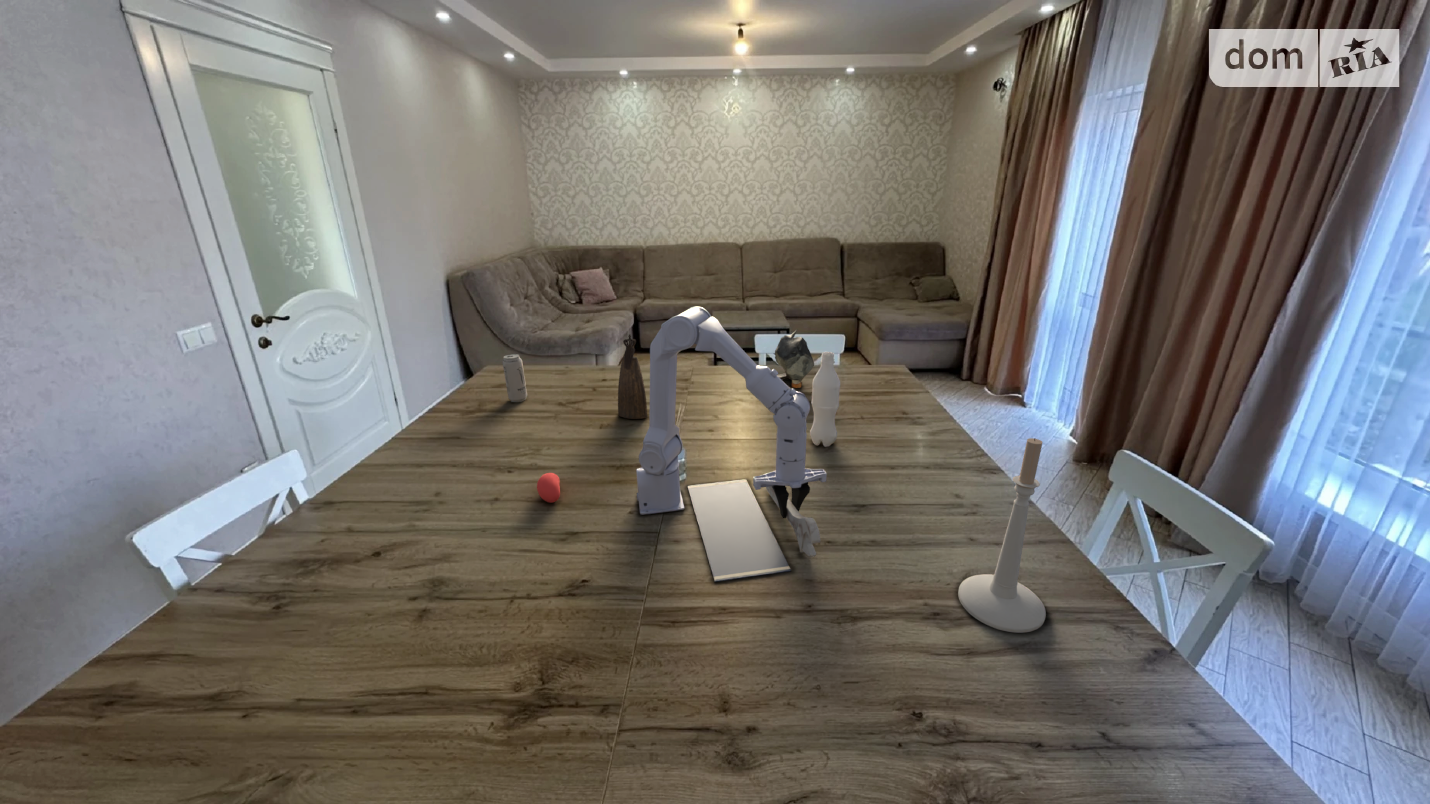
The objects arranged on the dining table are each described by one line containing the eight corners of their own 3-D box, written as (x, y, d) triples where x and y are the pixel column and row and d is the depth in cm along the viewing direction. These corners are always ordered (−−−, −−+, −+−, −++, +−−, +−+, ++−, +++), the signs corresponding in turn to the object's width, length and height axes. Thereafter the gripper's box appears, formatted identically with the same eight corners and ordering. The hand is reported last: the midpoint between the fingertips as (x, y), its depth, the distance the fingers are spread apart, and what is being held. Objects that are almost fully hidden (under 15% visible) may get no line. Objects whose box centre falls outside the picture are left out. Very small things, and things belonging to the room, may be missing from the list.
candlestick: (1042, 644, 82) (1088, 466, 71) (951, 613, 89) (980, 445, 78) (1047, 594, 92) (1087, 431, 81) (965, 568, 99) (992, 414, 88)
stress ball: (531, 509, 122) (536, 492, 118) (537, 478, 129) (542, 461, 125) (554, 513, 124) (560, 496, 120) (560, 482, 130) (565, 465, 127)
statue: (645, 410, 172) (640, 332, 163) (648, 419, 165) (643, 338, 156) (618, 412, 171) (611, 334, 162) (619, 422, 164) (612, 340, 155)
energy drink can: (524, 402, 180) (517, 358, 175) (506, 403, 180) (498, 359, 175) (530, 396, 186) (523, 353, 180) (512, 396, 186) (505, 353, 181)
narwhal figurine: (770, 390, 186) (771, 339, 180) (773, 376, 200) (774, 328, 194) (813, 392, 184) (815, 340, 178) (813, 377, 198) (815, 328, 192)
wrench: (773, 499, 126) (820, 568, 98) (765, 499, 126) (810, 570, 98) (772, 466, 124) (821, 527, 96) (764, 467, 124) (811, 528, 95)
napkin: (714, 582, 97) (714, 581, 97) (687, 486, 128) (687, 485, 128) (791, 571, 99) (791, 570, 99) (745, 479, 130) (745, 479, 130)
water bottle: (806, 446, 146) (810, 356, 137) (812, 435, 152) (816, 348, 143) (833, 450, 144) (839, 358, 135) (838, 439, 150) (844, 350, 141)
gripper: (760, 468, 102) (759, 530, 107) (834, 460, 104) (830, 521, 109) (750, 451, 108) (750, 511, 113) (820, 444, 111) (817, 502, 116)
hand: (788, 514), depth 112 cm, fingers closed on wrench, 2 cm apart
